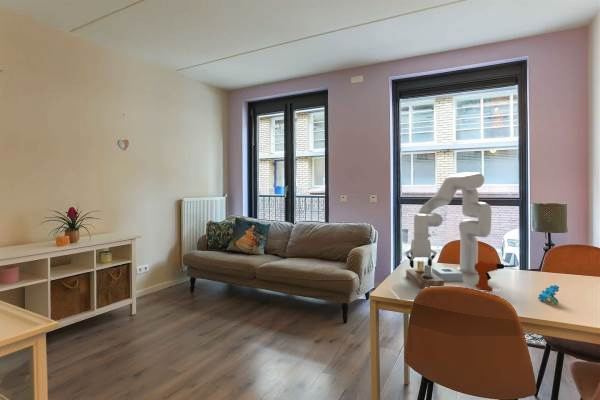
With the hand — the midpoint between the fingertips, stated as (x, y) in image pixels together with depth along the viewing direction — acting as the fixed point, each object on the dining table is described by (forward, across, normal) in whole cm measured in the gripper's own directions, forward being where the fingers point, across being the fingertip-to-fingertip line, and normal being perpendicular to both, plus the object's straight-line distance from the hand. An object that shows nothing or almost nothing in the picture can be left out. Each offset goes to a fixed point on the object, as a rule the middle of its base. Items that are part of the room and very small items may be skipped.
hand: (420, 267), depth 189 cm
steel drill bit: (+7, 0, +10) cm, 12 cm away
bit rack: (+8, 0, +5) cm, 9 cm away
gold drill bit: (+7, 0, 0) cm, 7 cm away
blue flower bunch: (+8, -47, +33) cm, 58 cm away
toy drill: (+8, -31, +17) cm, 36 cm away
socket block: (+8, -16, -3) cm, 18 cm away
